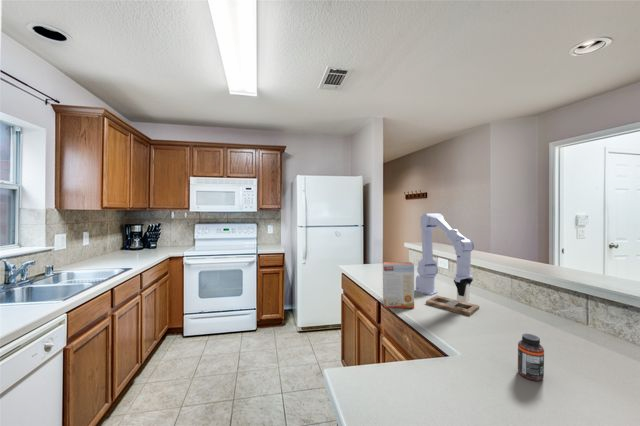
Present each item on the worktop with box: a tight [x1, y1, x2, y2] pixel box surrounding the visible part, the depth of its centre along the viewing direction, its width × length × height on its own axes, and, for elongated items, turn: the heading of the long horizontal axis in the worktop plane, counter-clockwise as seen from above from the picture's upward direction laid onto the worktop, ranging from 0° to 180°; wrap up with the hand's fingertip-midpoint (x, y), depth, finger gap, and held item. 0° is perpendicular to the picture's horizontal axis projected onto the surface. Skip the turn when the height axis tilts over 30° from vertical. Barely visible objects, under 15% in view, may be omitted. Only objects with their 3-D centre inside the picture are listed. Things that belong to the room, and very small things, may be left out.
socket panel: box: [425, 295, 480, 317], centre depth 132 cm, size 20×12×2 cm, turn 43°
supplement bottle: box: [517, 333, 545, 382], centre depth 79 cm, size 6×6×11 cm
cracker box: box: [382, 261, 415, 309], centre depth 133 cm, size 14×6×21 cm, turn 84°
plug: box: [456, 283, 471, 303], centre depth 128 cm, size 4×4×8 cm
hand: (463, 294), depth 128 cm, fingers closed on plug, 4 cm apart
